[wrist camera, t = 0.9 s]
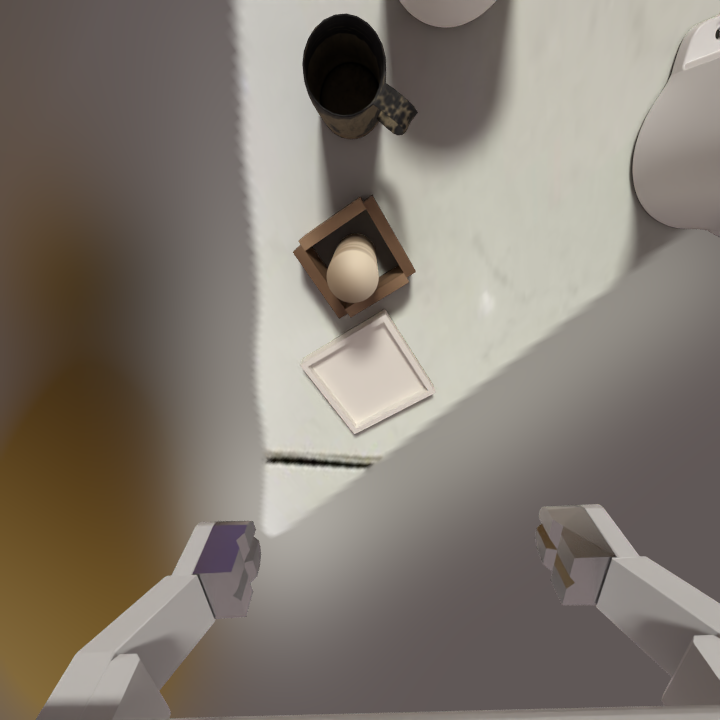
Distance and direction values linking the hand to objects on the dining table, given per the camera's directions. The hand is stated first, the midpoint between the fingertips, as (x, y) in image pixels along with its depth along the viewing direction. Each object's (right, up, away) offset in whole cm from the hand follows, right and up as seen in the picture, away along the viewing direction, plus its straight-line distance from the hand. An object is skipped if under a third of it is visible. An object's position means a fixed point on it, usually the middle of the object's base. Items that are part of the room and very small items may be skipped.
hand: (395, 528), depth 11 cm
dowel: (-1, +16, +27) cm, 31 cm away
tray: (0, +3, +33) cm, 33 cm away
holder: (-1, +16, +27) cm, 31 cm away
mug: (-1, +27, +22) cm, 34 cm away
